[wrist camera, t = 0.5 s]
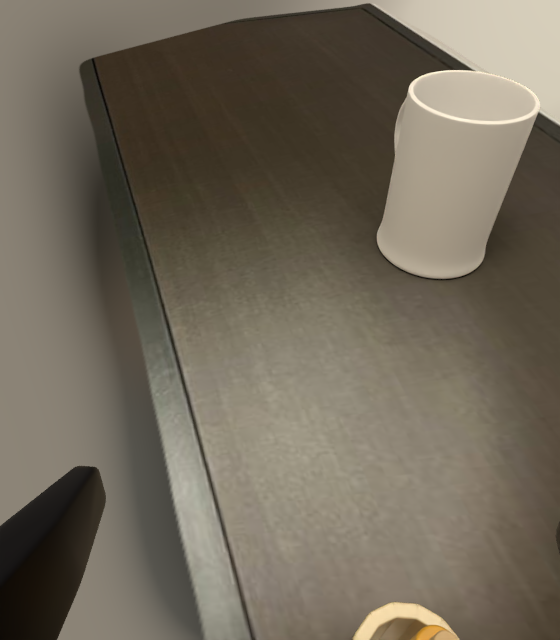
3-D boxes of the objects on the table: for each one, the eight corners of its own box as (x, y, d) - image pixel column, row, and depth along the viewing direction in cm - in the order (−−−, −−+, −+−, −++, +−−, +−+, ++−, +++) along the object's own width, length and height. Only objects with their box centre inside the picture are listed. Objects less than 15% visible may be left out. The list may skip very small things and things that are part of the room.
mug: (348, 200, 44) (366, 56, 35) (435, 187, 45) (474, 47, 36) (401, 288, 36) (442, 132, 27) (504, 270, 38) (575, 116, 29)
